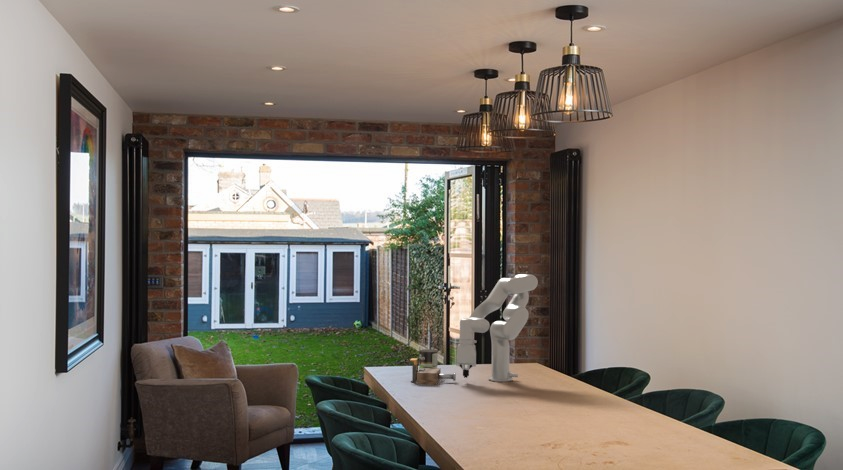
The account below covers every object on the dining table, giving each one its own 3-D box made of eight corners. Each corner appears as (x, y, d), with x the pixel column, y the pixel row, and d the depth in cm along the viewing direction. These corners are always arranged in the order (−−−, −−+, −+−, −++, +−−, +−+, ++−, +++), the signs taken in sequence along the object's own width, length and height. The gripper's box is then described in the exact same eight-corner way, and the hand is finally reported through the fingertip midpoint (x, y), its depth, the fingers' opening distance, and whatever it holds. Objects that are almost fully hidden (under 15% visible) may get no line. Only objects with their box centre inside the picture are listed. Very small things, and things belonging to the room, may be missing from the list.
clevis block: (440, 379, 426) (440, 362, 426) (436, 384, 408) (436, 367, 408) (414, 378, 428) (415, 361, 428) (409, 384, 410) (409, 366, 410)
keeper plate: (417, 369, 421) (417, 358, 421) (416, 371, 416) (416, 359, 416) (411, 369, 421) (411, 358, 422) (410, 371, 417) (410, 359, 417)
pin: (455, 380, 417) (455, 372, 417) (454, 381, 413) (455, 373, 414) (433, 379, 419) (433, 371, 419) (432, 380, 415) (432, 373, 415)
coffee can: (423, 378, 430) (423, 352, 430) (415, 375, 439) (416, 349, 439) (440, 376, 434) (440, 351, 434) (432, 374, 444) (432, 349, 444)
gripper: (481, 342, 417) (480, 377, 417) (453, 340, 420) (452, 375, 419) (480, 343, 410) (479, 379, 409) (451, 342, 412) (450, 377, 412)
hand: (465, 377), depth 414 cm, fingers closed
